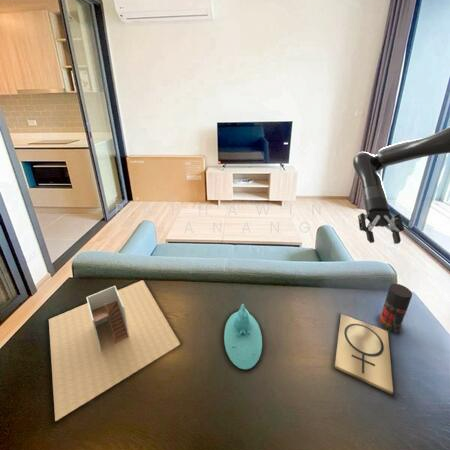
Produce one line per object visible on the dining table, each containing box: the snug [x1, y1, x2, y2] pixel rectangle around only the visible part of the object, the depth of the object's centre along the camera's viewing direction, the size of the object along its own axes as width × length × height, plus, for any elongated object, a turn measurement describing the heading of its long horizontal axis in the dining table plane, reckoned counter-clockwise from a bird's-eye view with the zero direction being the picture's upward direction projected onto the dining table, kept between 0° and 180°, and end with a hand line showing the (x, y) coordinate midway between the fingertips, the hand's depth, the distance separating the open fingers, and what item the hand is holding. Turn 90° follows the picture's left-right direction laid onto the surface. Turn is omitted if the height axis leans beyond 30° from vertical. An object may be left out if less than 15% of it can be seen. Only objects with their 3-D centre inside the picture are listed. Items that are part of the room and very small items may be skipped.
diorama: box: [223, 303, 263, 370], centre depth 77 cm, size 12×20×9 cm, turn 0°
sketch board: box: [334, 313, 394, 395], centre depth 75 cm, size 14×20×1 cm
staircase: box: [85, 285, 130, 352], centre depth 77 cm, size 9×11×17 cm
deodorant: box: [378, 283, 413, 334], centre depth 80 cm, size 6×6×15 cm
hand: (384, 242), depth 85 cm, fingers open, 8 cm apart
